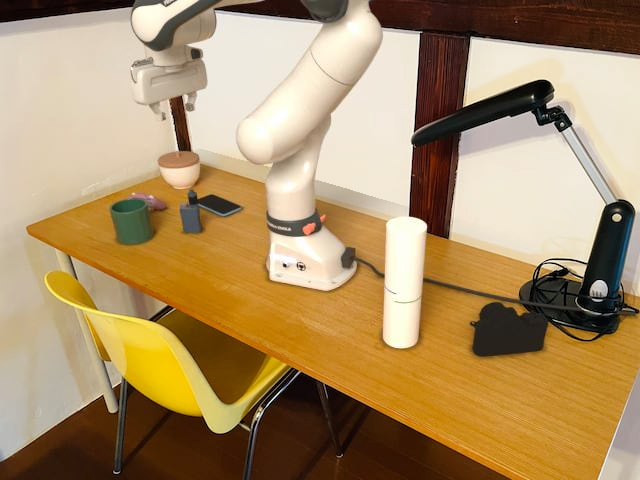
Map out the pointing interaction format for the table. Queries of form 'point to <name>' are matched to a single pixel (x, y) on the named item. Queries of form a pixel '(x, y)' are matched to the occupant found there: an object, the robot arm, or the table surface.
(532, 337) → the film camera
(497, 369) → the table surface
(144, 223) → the pen cup
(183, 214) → the vaping device
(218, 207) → the smartphone
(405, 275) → the cylindrical container
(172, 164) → the lidded bowl
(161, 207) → the video game controller
